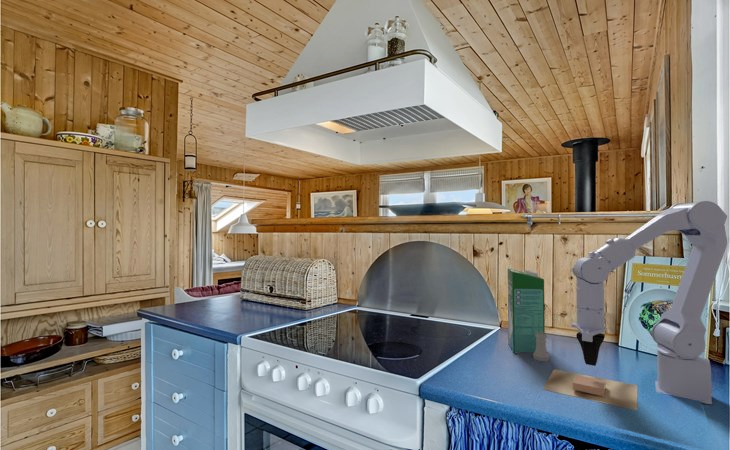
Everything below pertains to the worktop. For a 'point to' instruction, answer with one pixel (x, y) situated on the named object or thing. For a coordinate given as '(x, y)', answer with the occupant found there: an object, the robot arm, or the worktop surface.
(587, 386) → the tile
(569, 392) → the wooden board
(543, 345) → the rook chess piece
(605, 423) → the worktop surface
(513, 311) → the milk carton
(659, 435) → the worktop surface
